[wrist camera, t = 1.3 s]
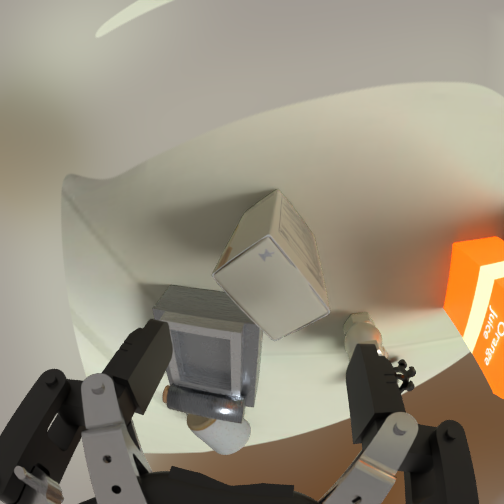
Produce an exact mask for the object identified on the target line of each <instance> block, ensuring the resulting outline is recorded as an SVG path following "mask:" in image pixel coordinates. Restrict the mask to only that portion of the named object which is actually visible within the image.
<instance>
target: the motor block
mask: <svg viewBox="0 0 504 504" xmlns="http://www.w3.org/2000/svg"><path fill="white" fill-rule="evenodd" d="M153 314H154V319H155V320H159V321H165V322H167V323H168V324H169V329H170V335H171V341H172V346H173V354H172V358H171V361H170V363H169V365H168V367H167V369H166V372H167V376H168V380H169V383H170V386H169V385H167V386H166V387H165V389H164V391H163V402H164V403H167V407H168V408H169V409H173V410H176V411H180V412H184V413H189V414H193V415H197V416H202V417H207V418H212V419H217V420H222V421H228V422H234V423H240V424H242V421H243V417H244V412H245V406H248V407H254V403H255V397H256V392H257V386H258V381H259V371H260V359H261V348H262V336H263V331H262V330H261V329H260V328H259V327H258V326H257V325H256V324H255V323H254V322H253V321H252V320H251V319H250V318H249V317H248V316H247V315H246V314H245V313H244V312H243V311H242V310H241V309H240V308H239V307H238V306H237V305H236V304H235V303H234V301H233V300H232V299H231V298H230V297H229V296H228V295H227V294H226V293H225V292H220V291H212V290H205V289H197V288H190V287H183V286H175V285H170V287H169V288H168V289H167V290H166V292H165V293H164V294H163V296H162V297H161V298H160V299H159V301H158V302H157V303H156V305H155V306H154V307H153Z"/></svg>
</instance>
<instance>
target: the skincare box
mask: <svg viewBox="0 0 504 504" xmlns="http://www.w3.org/2000/svg"><path fill="white" fill-rule="evenodd" d="M212 277H213V278H214V280H215V281H216V282H217V283H218V285H219V286H220V287H221V288H222V289H223V290H224V292H225V293H226V294H227V295H228V296H229V297H230V298H231V299H232V300H233V301H234V303H235V304H236V305H237V306H238V307H239V308H240V309H241V310H242V311H243V312H244V313H245V314H246V315H247V316H248V317H249V318H250V319H251V320H252V321H253V322H254V323H255V324H256V325H257V326H258V327H259V328H260V329H261V330H262V331H263V332H264V333H265V334H266V335H268V336H269V337H270V338H271V339H272V340H273V341H277V340H279V339H281V338H283V337H285V336H287V335H290V334H292V333H294V332H296V331H298V330H300V329H302V328H304V327H306V326H308V325H310V324H312V323H314V322H316V321H318V320H319V319H321V318H323V317H325V316H327V315H329V313H330V307H329V301H328V296H327V291H326V287H325V282H324V277H323V272H322V267H321V263H320V258H319V254H318V249H317V245H316V240H315V237H314V235H313V233H312V232H311V230H310V229H309V228H308V226H307V225H306V223H305V222H304V221H303V219H302V218H301V217H300V215H299V214H298V213H297V211H296V210H295V209H294V207H293V206H292V205H291V204H290V202H289V201H288V200H287V199H286V198H285V196H284V195H283V194H282V193H281V192H280V190H279V189H277V190H275V191H273V192H272V193H271V194H269V195H268V196H266V197H265V198H263V199H262V200H261V201H259V202H258V203H257V204H255V205H254V206H253V207H251V208H250V209H249V210H248V211H246V212H245V213H244V215H243V216H242V218H241V220H240V222H239V224H238V226H237V227H236V229H235V231H234V233H233V235H232V237H231V239H230V240H229V242H228V244H227V246H226V248H225V250H224V252H223V254H222V255H221V258H220V259H219V261H218V263H217V265H216V267H215V269H214V271H213V273H212Z"/></svg>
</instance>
